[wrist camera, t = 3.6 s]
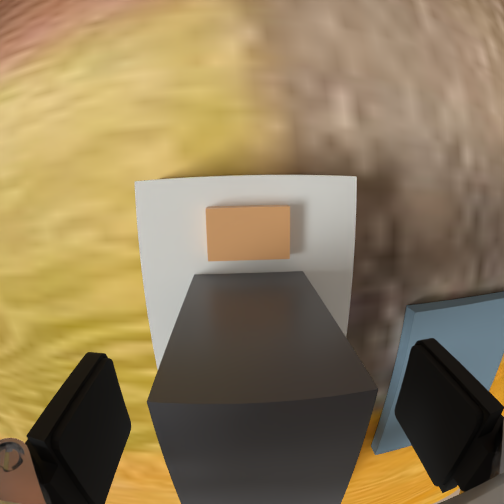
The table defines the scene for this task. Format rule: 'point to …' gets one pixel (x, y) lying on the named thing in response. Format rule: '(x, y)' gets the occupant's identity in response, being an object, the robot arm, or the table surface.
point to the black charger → (259, 394)
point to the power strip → (186, 241)
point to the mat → (454, 341)
